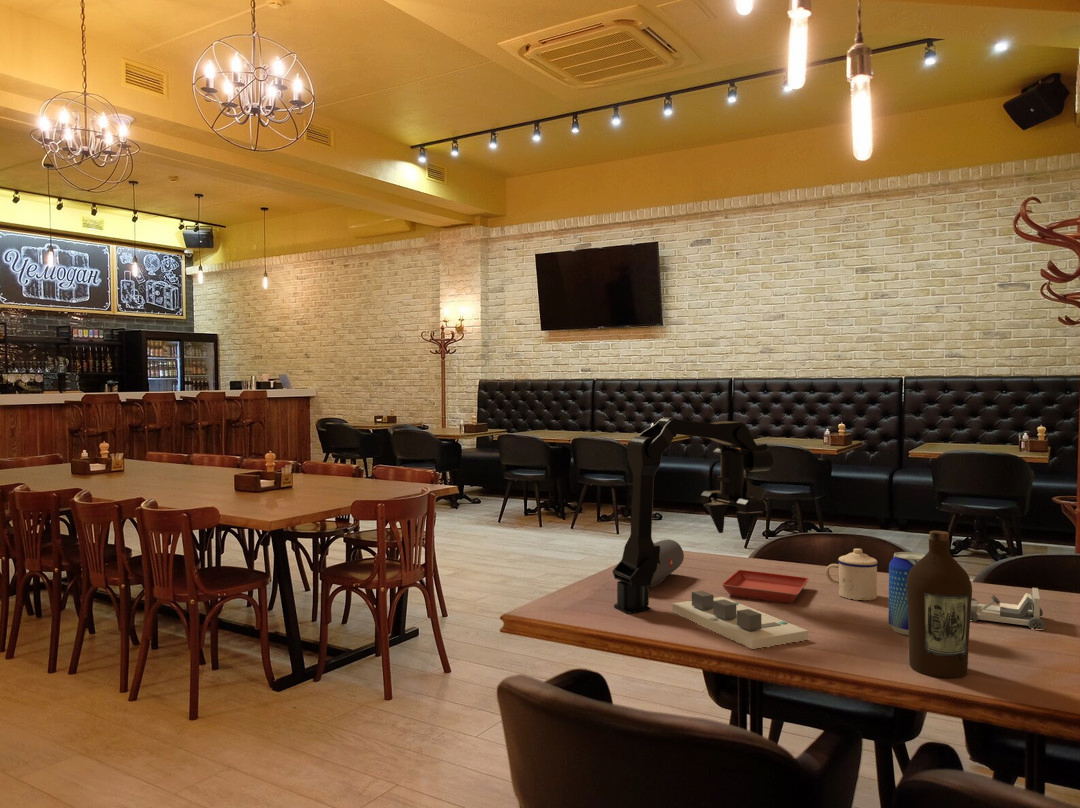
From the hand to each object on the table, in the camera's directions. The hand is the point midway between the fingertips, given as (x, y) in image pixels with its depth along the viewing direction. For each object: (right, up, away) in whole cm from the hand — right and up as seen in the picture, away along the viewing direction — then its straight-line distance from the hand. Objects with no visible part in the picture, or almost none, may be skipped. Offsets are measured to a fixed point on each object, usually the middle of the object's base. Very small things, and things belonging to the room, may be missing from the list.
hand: (732, 536), depth 191 cm
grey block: (-11, -13, -18) cm, 24 cm away
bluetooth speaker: (-17, -15, +13) cm, 26 cm away
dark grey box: (-8, -13, -25) cm, 29 cm away
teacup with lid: (+29, -15, 0) cm, 33 cm away
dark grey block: (-5, -13, -32) cm, 35 cm away
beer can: (+31, -16, -28) cm, 44 cm away
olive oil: (+25, -16, -50) cm, 58 cm away
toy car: (+54, -16, -19) cm, 59 cm away
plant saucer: (+9, -15, +3) cm, 18 cm away
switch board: (-5, -15, -24) cm, 29 cm away
